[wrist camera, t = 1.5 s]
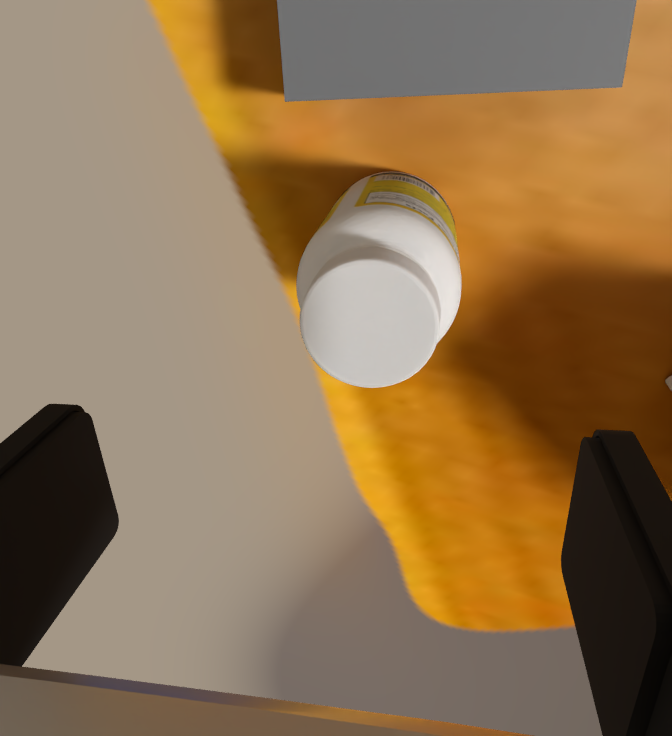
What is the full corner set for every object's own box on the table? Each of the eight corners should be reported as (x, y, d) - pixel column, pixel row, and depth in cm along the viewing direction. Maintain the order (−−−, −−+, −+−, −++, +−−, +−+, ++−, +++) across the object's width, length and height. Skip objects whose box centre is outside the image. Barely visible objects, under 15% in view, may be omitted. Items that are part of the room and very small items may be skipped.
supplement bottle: (361, 312, 26) (322, 430, 18) (308, 202, 25) (237, 276, 16) (475, 267, 25) (492, 376, 16) (428, 145, 23) (419, 195, 14)
